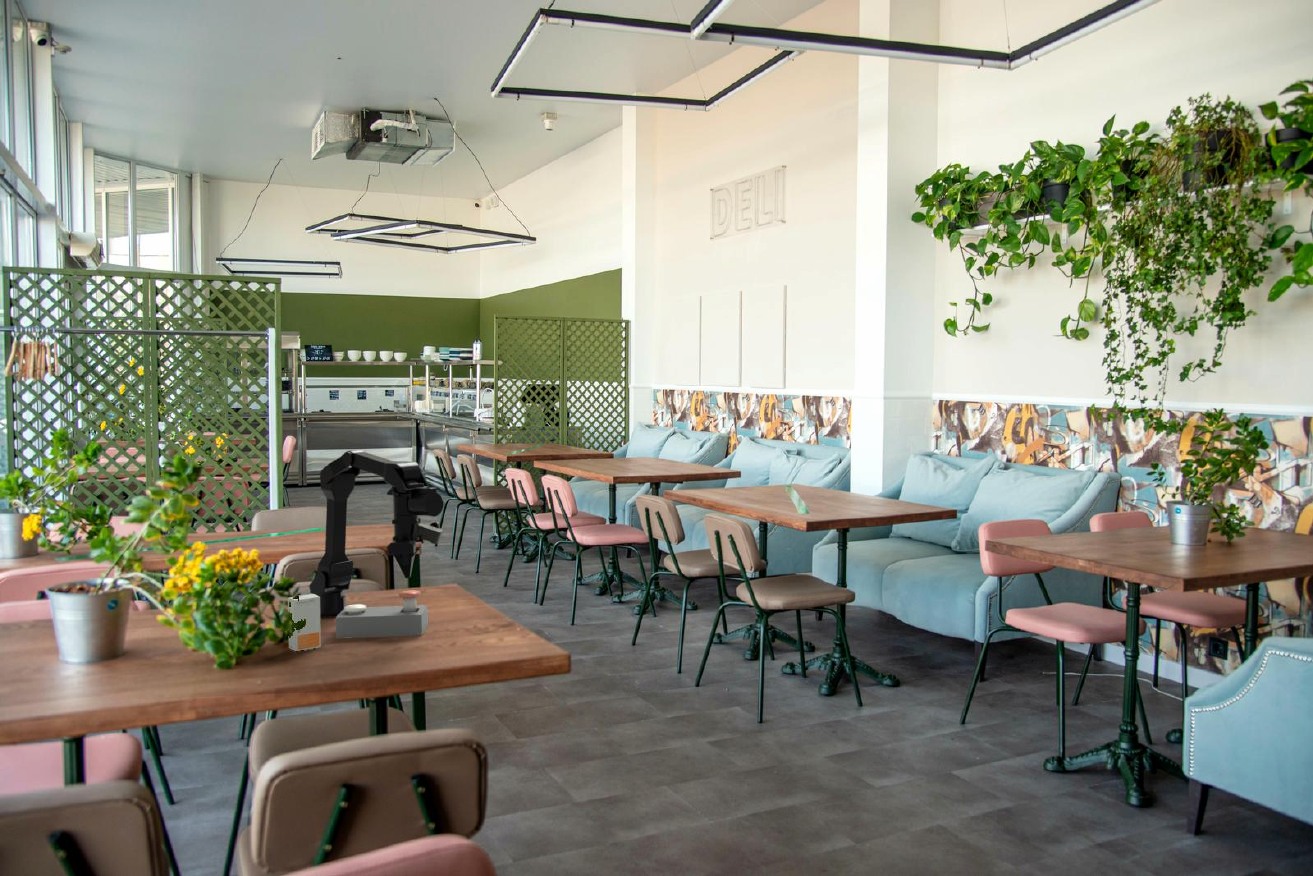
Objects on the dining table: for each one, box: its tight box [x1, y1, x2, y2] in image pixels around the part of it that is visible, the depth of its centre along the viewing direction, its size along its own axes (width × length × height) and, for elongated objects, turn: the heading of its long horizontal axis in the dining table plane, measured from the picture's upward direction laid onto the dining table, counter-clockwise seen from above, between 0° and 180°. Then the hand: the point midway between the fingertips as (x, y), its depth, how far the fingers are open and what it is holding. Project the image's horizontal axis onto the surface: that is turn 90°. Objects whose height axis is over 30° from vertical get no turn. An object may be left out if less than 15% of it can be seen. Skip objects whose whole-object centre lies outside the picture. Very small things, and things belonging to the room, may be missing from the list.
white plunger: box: [344, 603, 367, 614], centre depth 231 cm, size 5×5×5 cm
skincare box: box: [287, 593, 322, 652], centre depth 218 cm, size 6×4×12 cm
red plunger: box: [398, 589, 421, 613], centre depth 233 cm, size 5×5×5 cm
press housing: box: [335, 604, 429, 639], centre depth 232 cm, size 20×10×5 cm, turn 95°
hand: (407, 577), depth 232 cm, fingers closed
